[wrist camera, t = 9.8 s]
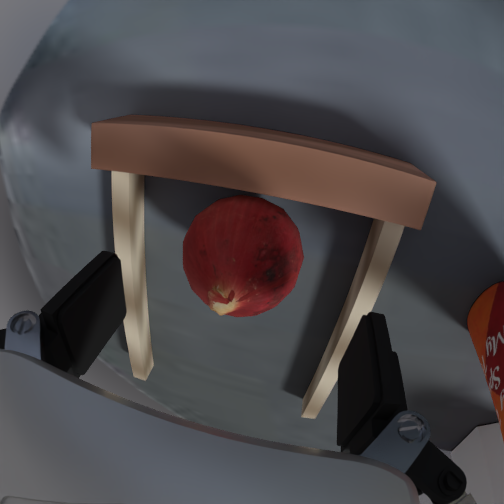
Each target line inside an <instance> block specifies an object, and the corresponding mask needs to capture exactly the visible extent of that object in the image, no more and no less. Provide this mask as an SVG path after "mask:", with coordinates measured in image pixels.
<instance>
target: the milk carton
mask: <svg viewBox="0 0 504 504" xmlns="http://www.w3.org/2000/svg"><path fill="white" fill-rule="evenodd" d="M451 457H452V461H453V462H454V463H455V464H456V465H457V466H459V467H460V468H461V469H462V471H463V472H464V474H465V476H466V480H467V485H466V489H465V492H466V493H467V495H468V494H469V493H471V495H472V496H473V498H474V500H475V501H476V503H477V504H504V442H503V437H502V433H501V429H500V425H499V423H494V424H489V425H484V426H478V427H476V428H475V429H474V430H473V431H472V432H471V433H470V434H469V435H468V436H467V437H466V438H465V439H464V440H463V441H462V442H461V443H460V444H459V445H458V446H457V447H456V448H455V449H454V450H453V451H452V452H451Z"/></svg>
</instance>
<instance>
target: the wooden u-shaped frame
mask: <svg viewBox="0 0 504 504" xmlns="http://www.w3.org/2000/svg"><path fill="white" fill-rule="evenodd" d="M91 169H100V170H109V171H112V211H113V229H114V244H115V254H117V256H118V258H119V259H120V260H121V267H122V277H123V285H124V294H125V301H126V309H127V313H126V316H125V318H124V320H123V321H124V328H125V334H126V339H127V345H128V350H129V356H130V361H131V366H132V371H133V375H134V377H136V378H139V379H142V380H145V381H146V379H147V377H148V375H149V373H150V371H151V369H152V367H153V365H154V364H153V356H152V347H151V338H150V327H149V316H148V303H147V288H146V270H145V242H144V179H145V175H148V176H156V177H163V178H170V179H176V180H183V181H189V182H196V183H202V184H208V185H214V186H220V187H226V188H232V189H237V190H243V191H248V192H254V193H259V194H264V195H270V196H275V197H280V198H285V199H290V200H295V201H300V202H304V203H309V204H314V205H318V206H323V207H328V208H332V209H337V210H341V211H345V212H350V213H354V214H358V215H363V216H367V217H371V218H374V220H373V223H372V226H371V229H370V232H369V235H368V238H367V242H366V245H365V248H364V251H363V253H362V256H361V259H360V262H359V265H358V268H357V271H356V274H355V276H354V279H353V282H352V285H351V287H350V290H349V293H348V295H347V298H346V301H345V303H344V306H343V308H342V311H341V313H340V316H339V318H338V321H337V323H336V326H335V328H334V331H333V333H332V335H331V338H330V340H329V343H328V345H327V347H326V350H325V352H324V354H323V357H322V359H321V361H320V363H319V366H318V368H317V370H316V372H315V374H314V377H313V379H312V381H311V383H310V385H309V387H308V389H307V392H306V394H305V396H304V398H303V404H302V417H305V418H313V419H315V418H316V416H317V414H318V413H319V411H320V409H321V408H322V406H323V404H324V402H325V401H326V399H327V397H328V395H329V394H330V392H331V390H332V388H333V386H334V385H335V383H336V381H337V379H338V367H339V363H340V361H341V359H342V357H343V355H344V353H345V351H346V349H347V347H348V345H349V343H350V341H351V339H352V337H353V335H354V332H355V330H356V328H357V326H358V324H359V322H360V319H361V317H362V316H363V315H367V314H368V313H369V312H371V310H372V308H373V306H374V303H375V301H376V299H377V297H378V294H379V292H380V289H381V287H382V285H383V282H384V280H385V277H386V275H387V272H388V270H389V267H390V265H391V262H392V260H393V257H394V255H395V252H396V249H397V247H398V244H399V241H400V238H401V236H402V233H403V230H404V227H405V226H407V227H411V228H414V229H418V230H421V228H422V225H423V222H424V219H425V217H426V214H427V211H428V208H429V205H430V202H431V199H432V195H433V192H434V189H435V186H436V183H437V182H435V181H434V180H433V179H431V178H430V177H429V176H427V175H426V174H425V173H423V172H422V171H421V170H419V169H418V168H416V167H415V166H414V165H412V164H411V163H408V162H405V161H402V160H399V159H395V158H392V157H388V156H385V155H381V154H378V153H374V152H371V151H367V150H363V149H359V148H355V147H351V146H347V145H343V144H339V143H335V142H330V141H326V140H322V139H317V138H312V137H308V136H303V135H298V134H293V133H287V132H282V131H276V130H271V129H265V128H259V127H252V126H246V125H239V124H231V123H224V122H216V121H207V120H198V119H188V118H176V117H163V116H147V115H127V116H121V117H117V118H112V119H107V120H103V121H98V122H94V123H92V129H91Z"/></svg>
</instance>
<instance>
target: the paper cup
mask: <svg viewBox="0 0 504 504" xmlns="http://www.w3.org/2000/svg"><path fill="white" fill-rule="evenodd" d="M467 326H468V330H469V333H470V336H471V338H472V341H473V344H474V347H475V349H476V352H477V355H478V357H479V360H480V363H481V366H482V369H483V372H484V375H485V377H486V381H487V384H488V387H489V390H490V393H491V396H492V400H493V403H494V406H495V410H496V414H497V417H498V421H499V425H500V429H501V433H502V437H503V442H504V281H502V282H499V283H496V284H494V285H492V286H490V287H489V288H488V289H486V290H485V291H484V292H483V293H482V294H481V295H480V296H479V297H478V298H477V299H476V301H475V302H474V304H473V305H472V307H471V309H470V311H469V314H468V318H467Z"/></svg>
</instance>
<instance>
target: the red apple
mask: <svg viewBox="0 0 504 504" xmlns="http://www.w3.org/2000/svg"><path fill="white" fill-rule="evenodd" d="M303 259H304V256H303V250H302V245H301V239H300V233H299V231H298V228H297V226H296V225H295V224H294V222H293V221H292V220H291V218H290V217H289V216H288V215H287V213H286V212H285V211H284V209H283V208H281V207H279V206H277V205H275V204H273V203H271V202H269V201H267V200H265V199H263V198H259V197H252V196H246V195H237V196H232V197H227V198H223V199H219V200H217V201H216V202H214V203H213V204H211V205H210V206H208V207H207V208H206V209H204V210H203V211H202V212H200V213H199V214H197V215H196V216H195V218H194V220H193V222H192V224H191V226H190V228H189V229H188V231H187V233H186V235H185V238H184V241H183V268H184V271H185V274H186V276H187V279H188V281H189V284H190V286H191V289H192V290H193V291H194V292H195V293H196V294H197V295H198V296H199V297H200V298H201V300H202V301H203V302H204V303H205V304H207V305H208V306H209V307H210V309H211V310H213V311H215V312H217V313H218V314H219V315H220V316H221V315H224V314H226V315H230V316H234V317H245V316H255V315H258V314H260V313H263V312H265V311H268V310H270V309H272V308H274V307H275V306H277V305H278V304H279V303H280V302H281V301H282V300H283V299H284V298H285V297H286V296H287V295H288V294H289V293H290V292H291V291H292V289H293V288H294V287H295V284H296V281H297V277H298V274H299V271H300V268H301V265H302V262H303Z"/></svg>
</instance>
